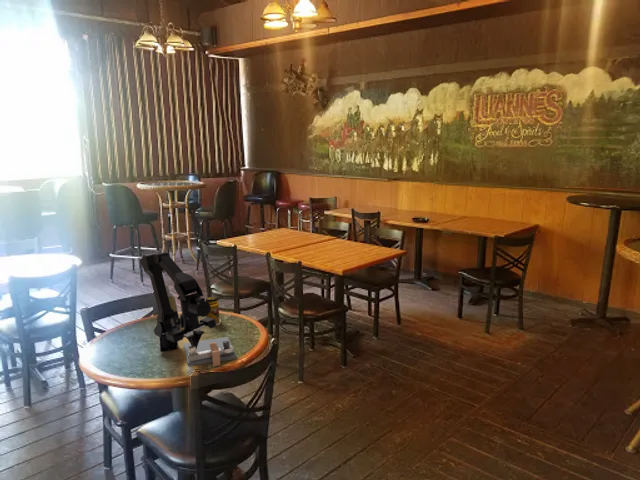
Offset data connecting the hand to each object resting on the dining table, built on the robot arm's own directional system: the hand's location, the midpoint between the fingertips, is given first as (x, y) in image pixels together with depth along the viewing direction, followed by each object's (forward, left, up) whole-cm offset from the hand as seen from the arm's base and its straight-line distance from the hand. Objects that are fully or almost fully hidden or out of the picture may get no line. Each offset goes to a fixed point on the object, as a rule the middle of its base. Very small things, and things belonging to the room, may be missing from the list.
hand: (194, 350), depth 191 cm
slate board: (+6, +5, -4) cm, 9 cm away
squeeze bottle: (-7, +46, -4) cm, 47 cm away
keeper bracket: (+7, -3, -4) cm, 8 cm away
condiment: (+11, +38, -4) cm, 40 cm away
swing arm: (+6, -2, -2) cm, 7 cm away
